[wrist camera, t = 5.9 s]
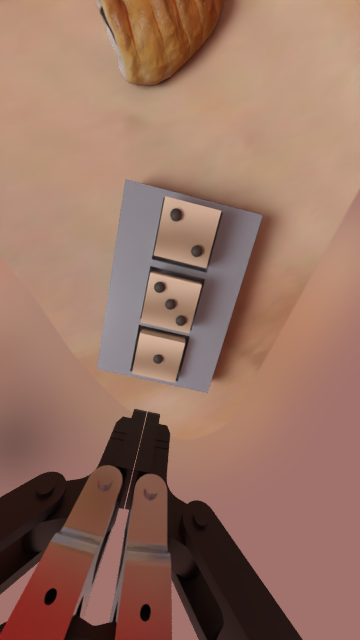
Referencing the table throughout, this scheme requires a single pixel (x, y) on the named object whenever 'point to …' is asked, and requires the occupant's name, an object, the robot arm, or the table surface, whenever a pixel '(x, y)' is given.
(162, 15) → the pastry
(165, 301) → the button
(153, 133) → the table surface
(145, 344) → the button
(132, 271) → the panel
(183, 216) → the button
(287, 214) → the table surface
